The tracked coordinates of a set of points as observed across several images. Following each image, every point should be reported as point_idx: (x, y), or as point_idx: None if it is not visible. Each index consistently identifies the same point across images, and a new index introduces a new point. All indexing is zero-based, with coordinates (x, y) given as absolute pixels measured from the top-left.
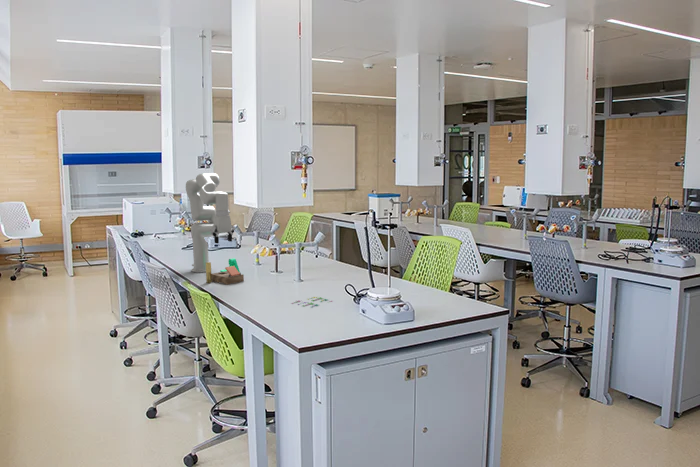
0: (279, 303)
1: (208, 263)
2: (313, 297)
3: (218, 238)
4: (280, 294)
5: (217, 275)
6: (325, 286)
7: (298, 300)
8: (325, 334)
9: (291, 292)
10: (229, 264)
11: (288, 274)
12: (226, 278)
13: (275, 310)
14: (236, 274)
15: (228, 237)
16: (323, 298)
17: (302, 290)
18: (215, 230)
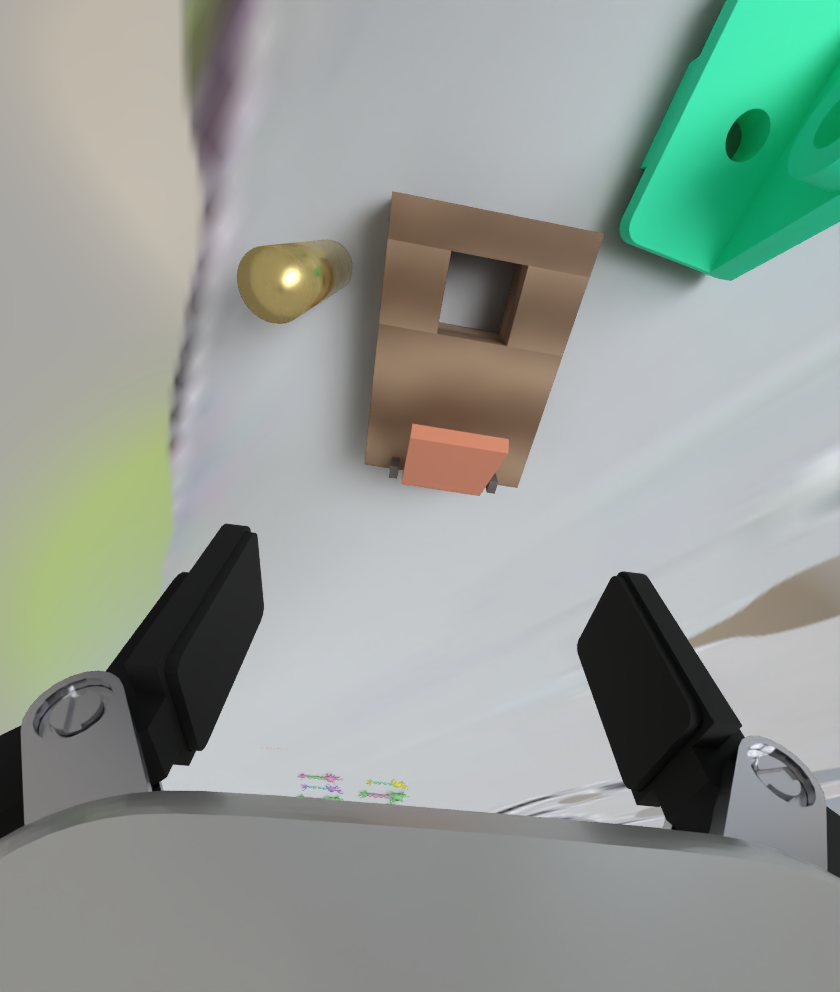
0: (275, 757)
1: (258, 313)
2: (393, 785)
3: (218, 708)
4: (368, 717)
5: (379, 333)
6: (561, 756)
7: (330, 780)
8: None
9: (416, 727)
10: (831, 96)
11: (799, 559)
12: (366, 454)
13: (215, 776)
14: (447, 488)
15: (641, 665)
16: (401, 800)
17: (464, 736)
18: (69, 950)
